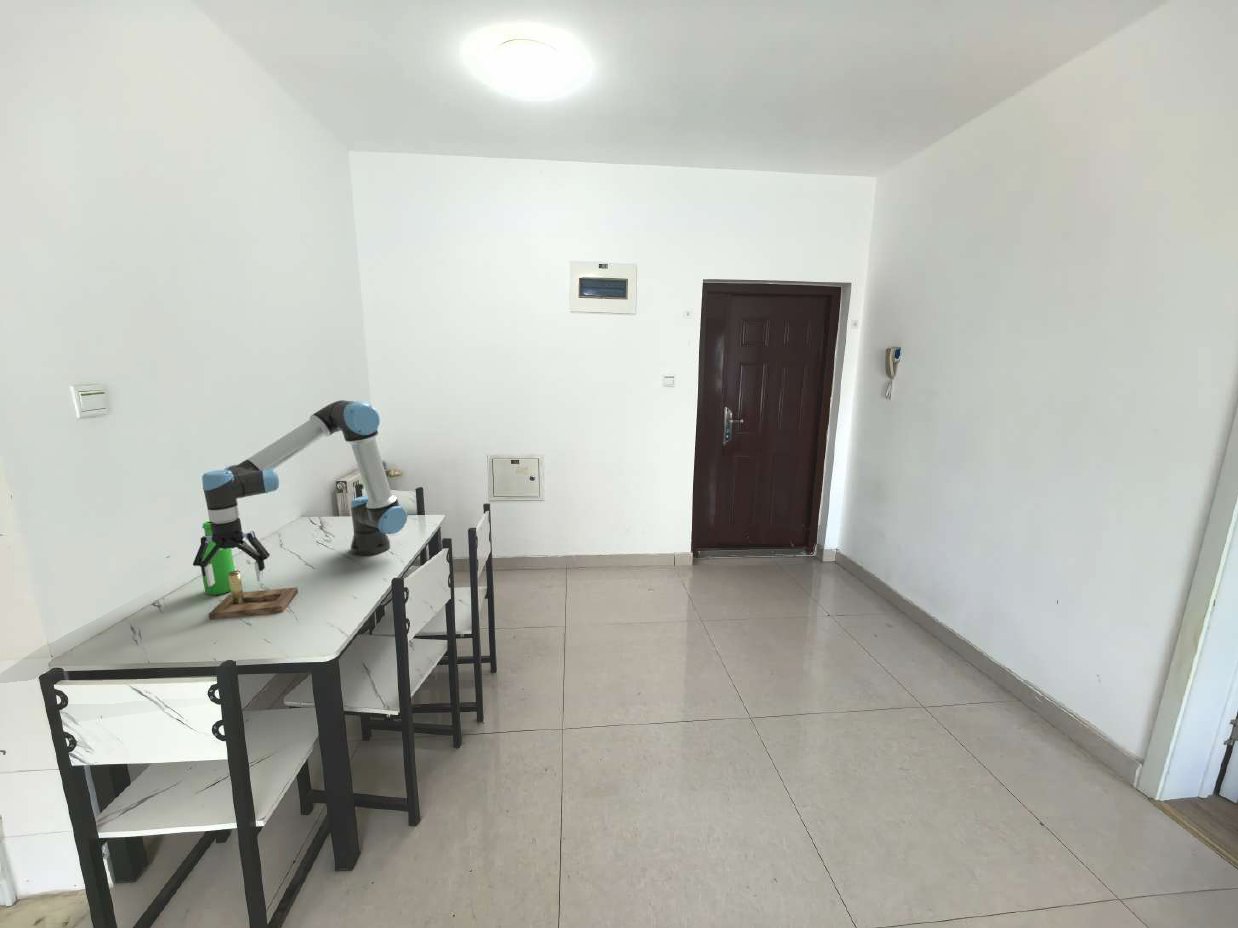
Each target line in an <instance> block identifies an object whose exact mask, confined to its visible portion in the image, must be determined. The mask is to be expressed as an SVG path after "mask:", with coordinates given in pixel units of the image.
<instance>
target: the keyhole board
mask: <svg viewBox="0 0 1238 928" xmlns="http://www.w3.org/2000/svg"><path fill="white" fill-rule="evenodd" d="M298 594H299V590H298V587H297V586H296V587H287V588H286V587H285V588H275V589H265V590H255V591H243V595H244V601H245V604H235V605H233V600H232V594H231V592H230V593H229V594H228V595H227V596H226V597H225V598H223V600H222V601H220V602H219V603H218V604H217V605H216V606H215V607H214V608H213V609H212V610H211V611H210V612H209V613H208V617H209V620H211V621H212V620H217V619H227V618H229V619H230V618H238V617H248V616H259V615H267V614H268V615H269V614H276V613H278V614H279V613H284V612H285V610H286V609H287V608H288V606H289V605H290V604H291V602H292V601H293V600H294V599H295V597H296V596H297V595H298Z"/></svg>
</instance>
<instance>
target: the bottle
mask: <svg viewBox="0 0 1238 928" xmlns="http://www.w3.org/2000/svg"><path fill="white" fill-rule="evenodd" d="M210 523H211V521H209V520H208V521H206V522H203V523H202V526H201V527H202V529H204V536H205V535H209V536H213V534H212V531H211V526H210ZM215 545H216V543H214V542H213V541H212V540H211V542H209V544H208V547H207V549H206V552H205V554H204V556H203V559H202V561H204V559H205V558H206V557H207V556H208V554H209V553H210V552H211V550H212V549H213V548H214V546H215ZM233 557H234V556H233V552H232V548H227V549H223V548H220V549H219V550H218V552H217V553H216V554H215V555H214V557H213V558H212V559H211V560H210V562H209V563H208V564H212V569H213V574H214V579H215V583H214V584H213V585H212V586H209V587H208V583H207V578H206V576H203V574H202V573H201V576H202V581H203V582H202V583H203V587H204V592H205V593H206V594H208V595H211V596H219V595H223V594H228V593H229V592H230V593H231V588H230V581H229V575H228V573H229V572H232V571H236V570H235V564H234V558H233ZM200 570H201V572H202V569H201V568H200Z"/></svg>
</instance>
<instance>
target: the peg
mask: <svg viewBox="0 0 1238 928" xmlns="http://www.w3.org/2000/svg"><path fill="white" fill-rule="evenodd" d="M228 575H229V581H230V588H231V591H230V593H231V594H232V600H233V605H235V604H245V601H244V595H243V592H244V589H243V583H242V582H243V581H242V576H241V570H235V571H232V572H229V573H228Z"/></svg>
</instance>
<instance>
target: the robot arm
mask: <svg viewBox="0 0 1238 928" xmlns="http://www.w3.org/2000/svg"><path fill="white" fill-rule="evenodd" d="M380 423H381V420H380V415H379V412H378V410H377V409H376V408H375V407H374V406H373V405H370V404H369V403H365V402H363V401H353V400H352V401H351V400H343V399H342V400H337V401H333V402H331V403H329V404H327V405H326V406H325V407H322V408H321V409H319V410H317V411H316V412H314V413H313V414H311V415H310V416H309V419H308V420H307V421H305V422H304V423H302V424H301V425H299V426H298V427H296V428H294V429H292V430H290V431H289V432H288V433H286V434H285V435H283V436H282V437H280V438H279V439H277V440H276V441H274V442H272V443H271V444H268V445H267V446H266V447H264V448H263V449H261V450H260V451H258V452H257V453H255V454H253V455H252V456H250V457H248V458H246V459H245V460H243V461H241V462H240V463H239V464H232V465H229V466H227V467H225V468H224V469H219V470H210V471H207V472H206V473H204V474H203V475H202V476H201V478H202V479H201V482H202V490H203V494H204V498H205V502H206V507H207V516H208V521H211V523H210V526H211V531H212V534H213V536H209V535H205V534H204V535H203V536H202V537H200V545H199V548H198V549H197V552H196V555H195V557H194V560H193V562H192V566H193V567H200V570H201V569H202V571H201V575H202V574H203V576H206V578H207V583H208V587H209V586H212V585H213V584H214V583H215V579H214V574H213V569H212V564H208V563H209V562H210V560H211V559H212V558H213V557H214V555H215V554H216V553H217V552H218V550H219V549H220V548H223V549H227V548H231V549H235V548H237V549H238V550H241V551H242V552H244V553H245V554H246V555H248V556H249V557H250V558H251V559H253V560H254V561H255V562H253V564H254V569H255V575H256V581H257V582H259V583H260V582H261V581H262V580H263V579H264V575H263V574H264V570H265V568H266V565H265V560H268V558H269V557H270V555H271V554H270V553H269V551H268V550H267V549H266V547H264V545H263V544H262V543H261V542H260V541H259V539H258V538H257V537H256V533H255V531H253V530H251V531H249V532H246V533H245V532H243V530H242V529H243V527H242V521H241V518H240V511H239V505H238V499H241V498H243V499H244V498H247V497H253V496H257V495H262V494H263V495H264V494H268V493H271V492H275V491H277V490H278V489H279V487H280V479H279V476H278V474H277V472H276V471H275V470H274V469H276V468H278V467H279V466H281V465H282V464H284V463H285V462H287V461H288V460H290V459H292V458H293V457H294V456H297V455H298V454H299V453H300V452H302V451H304V450H306V448H308V447H310V446H311V445H313V444H315V443H316V442H317V441H319V440H320V439H322V438H324V437H330V436H331V435H333V434H335V433H338V432H342V436H343V438H344V440H345V442H346V443H348V444H350V446H351V448H352V452H353V455H354V457H355V461H356V465H357V467H358V470H359V474H360V476H361V480H362V483H363V484H362V485H363V486H364V490H365V493H366V495H365V496H363V495H362V496H358V497H355V498H353V499H351V501H350V511H351V519H352V529H353V535H352V540H351V544H350V553H351V554H353V555H355V556H371V555H377V554H378V555H379V554H380V553H384V552H386V551H387V550H389V549H390V548H391V541H390V539H389V538H390V537H389V536H388V535H393V534H398V532H401V530H403V528H404V527H405V524H407V521H408V513H407V510H406V509H405V508H404V507H403V506H400V502H399V501H398V497H397V495H394V494H393V493H392V491H391V487H390V485H389V481H388V480H389V479H388V477H387V474H386V471H385V466H384V464H383V460H382V456H381V454H380V450H379V446H378V442H377V440H376V438H377V437H378V436H379V431H378V428H379V425H380ZM244 538H245V539H246V540H248V543H249V544H248V543H247V541H245V540H244ZM211 540H212V541H213V542H214V543H216V545H215V546H214V548H213V549H212V550H211V552H210V553H209V554H208V556H207V557H206V558H205V559H204V561H202V559H203V556H204V554H205V552H206V549H207V547H208V544H209V542H211ZM250 545H251V546H252V547H251V546H250Z"/></svg>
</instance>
